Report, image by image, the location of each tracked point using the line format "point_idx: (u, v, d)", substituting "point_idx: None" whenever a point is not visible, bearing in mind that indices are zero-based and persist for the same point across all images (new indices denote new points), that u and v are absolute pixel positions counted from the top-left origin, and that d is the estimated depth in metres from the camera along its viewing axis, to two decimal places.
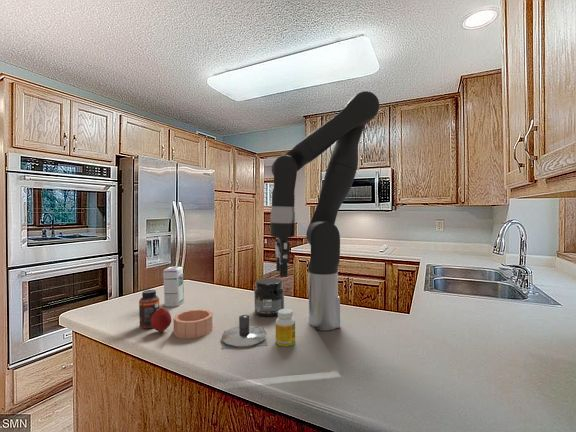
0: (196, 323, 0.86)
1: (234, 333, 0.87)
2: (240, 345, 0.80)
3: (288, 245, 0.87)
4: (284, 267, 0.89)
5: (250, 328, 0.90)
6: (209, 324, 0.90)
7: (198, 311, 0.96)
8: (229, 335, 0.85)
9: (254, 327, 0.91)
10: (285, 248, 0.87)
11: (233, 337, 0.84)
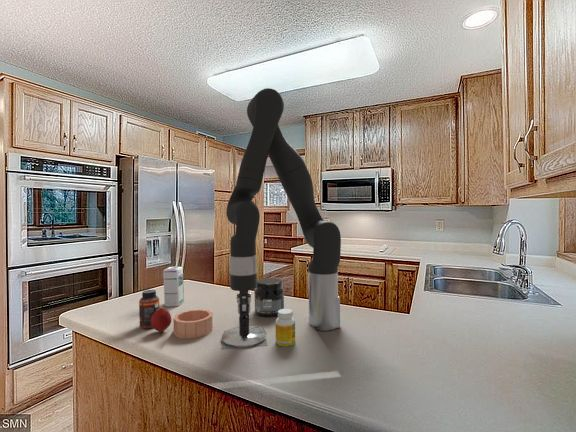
0: (196, 323, 0.86)
1: (234, 333, 0.87)
2: (240, 345, 0.80)
3: (247, 308, 0.80)
4: (244, 325, 0.83)
5: (250, 328, 0.90)
6: (209, 324, 0.90)
7: (198, 311, 0.96)
8: (229, 335, 0.85)
9: (254, 327, 0.91)
10: (244, 310, 0.80)
11: (233, 337, 0.84)
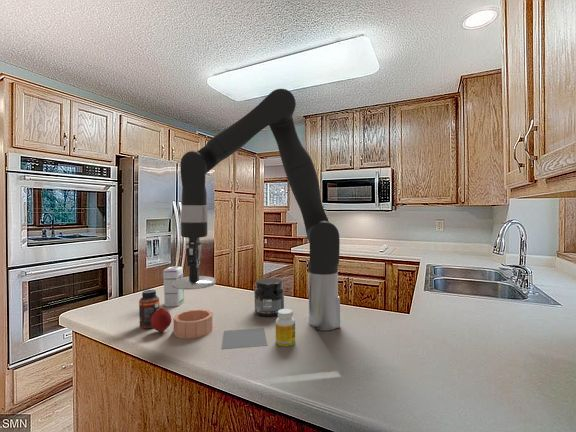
0: (196, 323, 0.86)
1: (184, 280, 0.91)
2: (186, 287, 0.84)
3: (194, 252, 0.84)
4: (193, 270, 0.88)
5: (201, 277, 0.95)
6: (209, 324, 0.90)
7: (198, 311, 0.96)
8: (179, 281, 0.90)
9: (206, 277, 0.95)
10: (191, 254, 0.84)
11: (182, 282, 0.88)
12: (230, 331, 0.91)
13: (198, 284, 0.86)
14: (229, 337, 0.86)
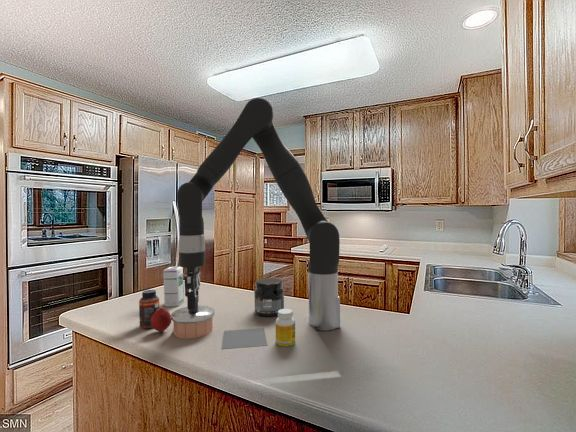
0: (196, 323, 0.86)
1: (184, 311, 0.92)
2: (185, 321, 0.85)
3: (192, 279, 0.85)
4: (191, 300, 0.87)
5: (201, 307, 0.96)
6: (209, 324, 0.90)
7: None
8: (178, 313, 0.91)
9: (205, 307, 0.96)
10: (189, 282, 0.85)
11: (182, 314, 0.89)
12: (230, 331, 0.91)
13: (197, 317, 0.87)
14: (229, 337, 0.86)
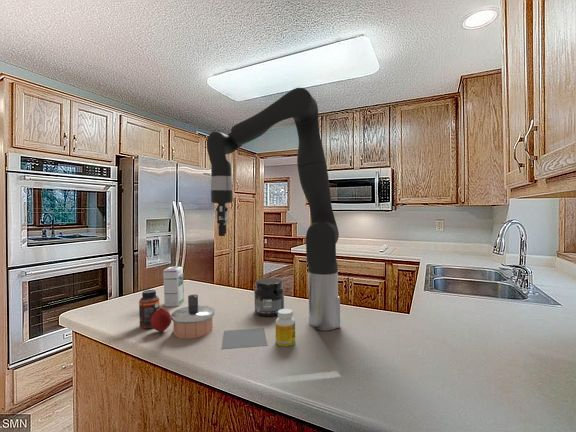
0: (196, 323, 0.86)
1: (184, 311, 0.92)
2: (185, 321, 0.85)
3: (223, 208, 1.02)
4: (221, 227, 1.04)
5: (201, 307, 0.96)
6: (209, 324, 0.90)
7: None
8: (178, 313, 0.91)
9: (205, 307, 0.96)
10: (221, 210, 1.02)
11: (182, 314, 0.89)
12: (230, 331, 0.91)
13: (197, 317, 0.87)
14: (229, 337, 0.86)
